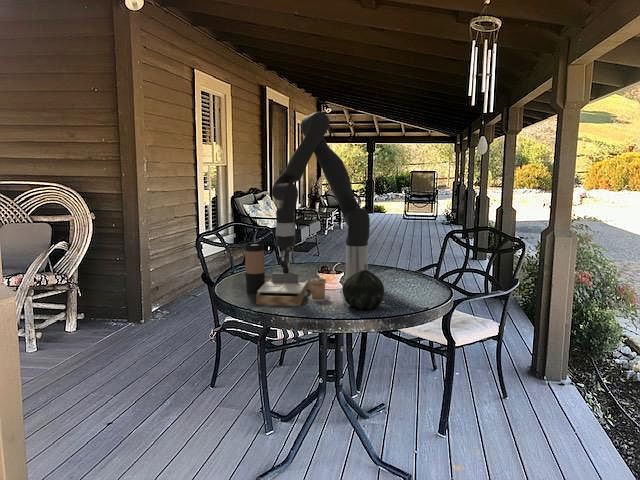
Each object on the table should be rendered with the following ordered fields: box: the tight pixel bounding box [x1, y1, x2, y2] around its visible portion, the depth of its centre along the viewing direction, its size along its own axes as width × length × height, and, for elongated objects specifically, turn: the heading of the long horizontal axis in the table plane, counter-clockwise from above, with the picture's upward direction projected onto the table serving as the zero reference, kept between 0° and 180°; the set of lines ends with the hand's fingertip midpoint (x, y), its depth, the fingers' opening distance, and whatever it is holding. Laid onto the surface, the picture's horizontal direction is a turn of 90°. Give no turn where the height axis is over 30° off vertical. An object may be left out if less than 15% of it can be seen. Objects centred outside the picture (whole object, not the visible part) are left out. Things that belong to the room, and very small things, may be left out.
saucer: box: [306, 294, 331, 302], centre depth 193 cm, size 9×9×1 cm
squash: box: [342, 270, 385, 311], centre depth 182 cm, size 14×15×15 cm
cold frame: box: [255, 278, 310, 307], centre depth 195 cm, size 16×24×5 cm, turn 174°
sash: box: [257, 272, 306, 294], centre depth 192 cm, size 16×14×4 cm
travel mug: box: [244, 242, 266, 294], centre depth 203 cm, size 8×8×20 cm
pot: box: [310, 277, 327, 300], centre depth 193 cm, size 6×6×7 cm
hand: (286, 277), depth 200 cm, fingers closed
